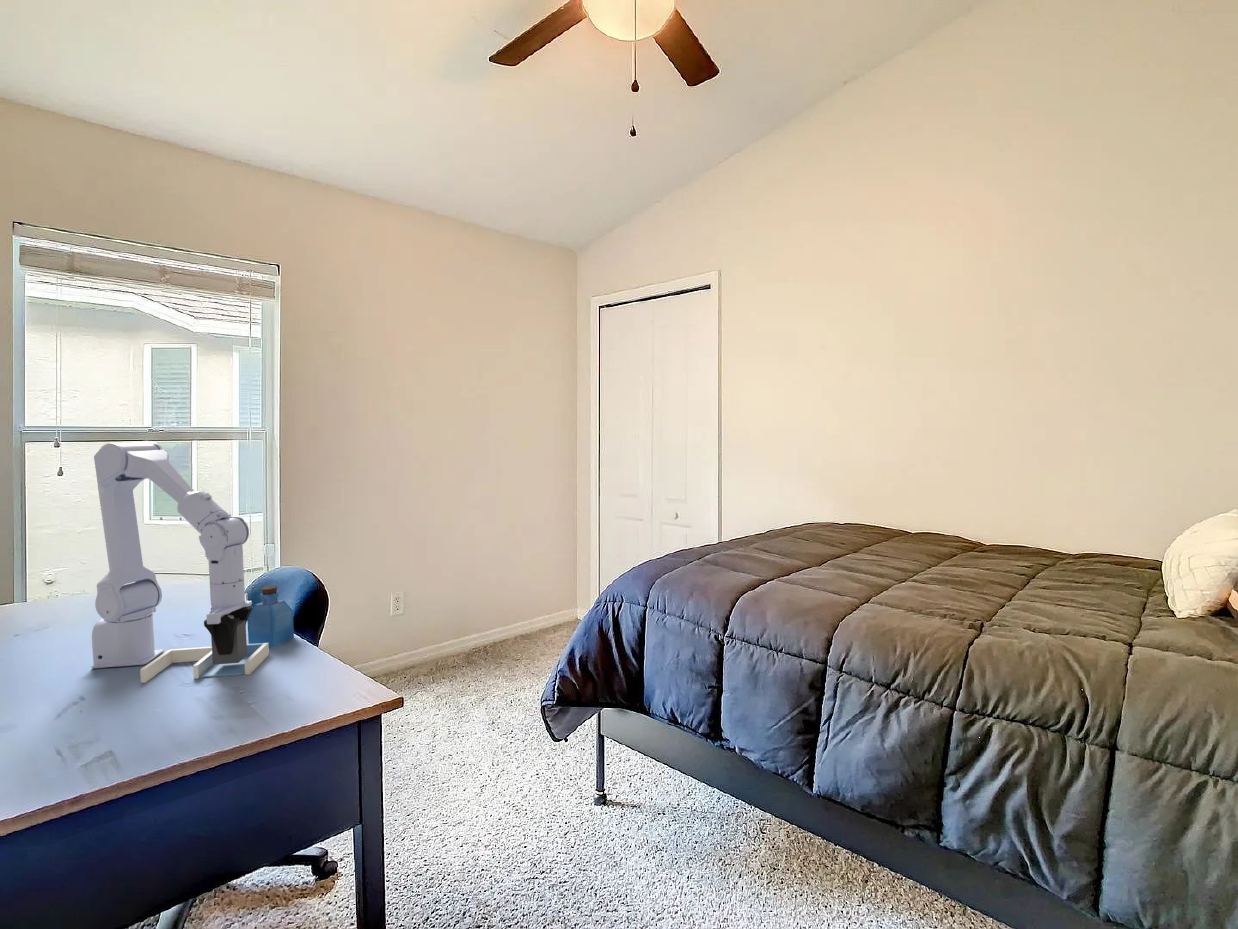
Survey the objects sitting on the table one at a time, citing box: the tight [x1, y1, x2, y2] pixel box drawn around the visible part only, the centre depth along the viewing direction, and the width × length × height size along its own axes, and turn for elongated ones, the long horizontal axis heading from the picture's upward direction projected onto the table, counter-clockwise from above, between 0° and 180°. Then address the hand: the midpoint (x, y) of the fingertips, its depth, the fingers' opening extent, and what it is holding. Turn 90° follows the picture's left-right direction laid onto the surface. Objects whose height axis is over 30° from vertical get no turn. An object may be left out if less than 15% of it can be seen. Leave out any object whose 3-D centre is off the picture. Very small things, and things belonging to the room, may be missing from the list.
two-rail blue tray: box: [139, 643, 270, 684], centre depth 126 cm, size 18×11×2 cm, turn 101°
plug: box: [210, 615, 248, 665], centre depth 126 cm, size 4×4×8 cm
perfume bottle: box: [246, 585, 295, 648], centre depth 141 cm, size 6×6×12 cm
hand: (230, 649), depth 126 cm, fingers closed on plug, 4 cm apart
